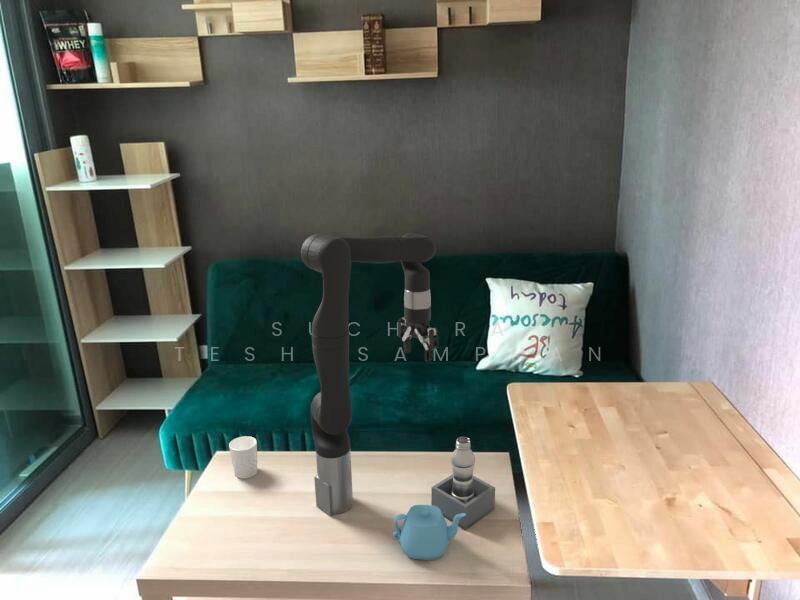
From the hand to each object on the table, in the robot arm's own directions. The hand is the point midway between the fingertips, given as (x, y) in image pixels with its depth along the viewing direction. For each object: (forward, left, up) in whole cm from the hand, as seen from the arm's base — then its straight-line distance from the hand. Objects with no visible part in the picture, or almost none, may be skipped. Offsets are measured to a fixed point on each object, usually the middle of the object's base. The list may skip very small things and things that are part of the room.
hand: (417, 356), depth 184 cm
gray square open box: (-9, -26, -34) cm, 44 cm away
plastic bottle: (-9, -26, -33) cm, 43 cm away
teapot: (-26, -30, -34) cm, 52 cm away
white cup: (-42, +31, -34) cm, 62 cm away
